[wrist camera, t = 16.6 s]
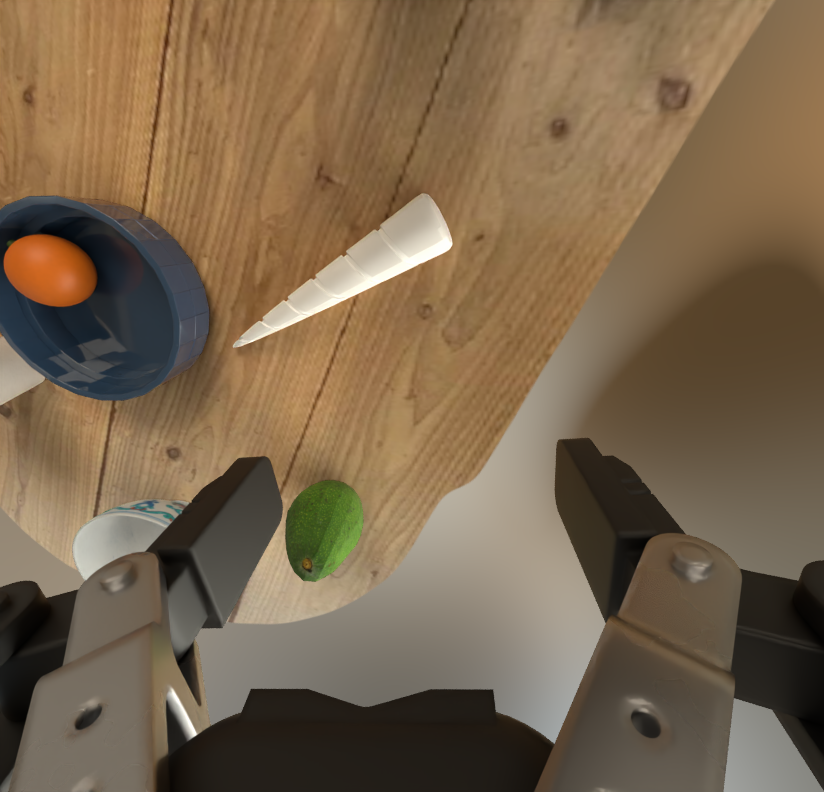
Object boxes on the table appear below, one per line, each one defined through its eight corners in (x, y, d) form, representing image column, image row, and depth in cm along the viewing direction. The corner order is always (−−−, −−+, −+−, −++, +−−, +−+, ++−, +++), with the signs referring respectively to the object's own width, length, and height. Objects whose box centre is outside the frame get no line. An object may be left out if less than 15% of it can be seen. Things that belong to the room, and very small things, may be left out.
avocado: (381, 483, 45) (363, 565, 34) (352, 529, 48) (327, 618, 37) (319, 452, 44) (278, 527, 33) (293, 501, 47) (248, 584, 36)
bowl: (27, 178, 35) (-44, 169, 30) (217, 229, 35) (180, 228, 30) (50, 357, 41) (-4, 374, 36) (210, 397, 42) (179, 419, 37)
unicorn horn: (212, 312, 38) (183, 322, 34) (432, 191, 33) (431, 185, 29) (240, 354, 40) (216, 369, 35) (454, 245, 35) (457, 247, 30)
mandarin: (121, 276, 38) (52, 226, 36) (100, 262, 33) (17, 203, 30) (78, 323, 37) (3, 275, 35) (48, 317, 32) (-42, 261, 29)
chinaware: (199, 455, 45) (154, 497, 38) (265, 549, 50) (236, 602, 43) (100, 491, 48) (42, 536, 41) (172, 577, 53) (131, 630, 46)
